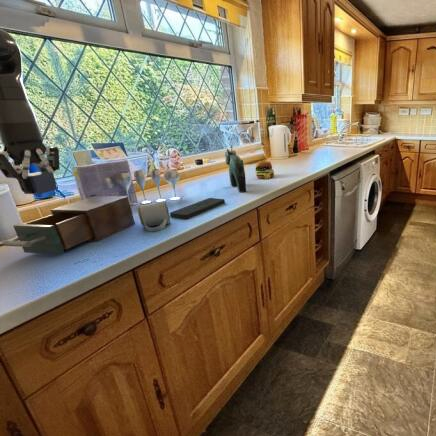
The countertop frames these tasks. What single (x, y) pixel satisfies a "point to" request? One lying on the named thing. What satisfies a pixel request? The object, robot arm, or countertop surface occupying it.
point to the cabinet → (102, 214)
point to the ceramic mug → (154, 215)
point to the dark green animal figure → (236, 170)
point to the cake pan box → (102, 180)
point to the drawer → (52, 233)
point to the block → (42, 182)
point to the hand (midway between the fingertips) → (40, 190)
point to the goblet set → (139, 175)
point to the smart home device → (197, 208)
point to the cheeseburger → (264, 170)
